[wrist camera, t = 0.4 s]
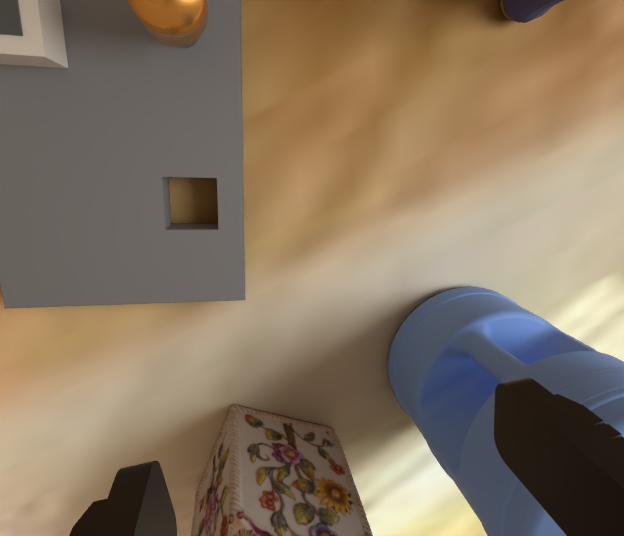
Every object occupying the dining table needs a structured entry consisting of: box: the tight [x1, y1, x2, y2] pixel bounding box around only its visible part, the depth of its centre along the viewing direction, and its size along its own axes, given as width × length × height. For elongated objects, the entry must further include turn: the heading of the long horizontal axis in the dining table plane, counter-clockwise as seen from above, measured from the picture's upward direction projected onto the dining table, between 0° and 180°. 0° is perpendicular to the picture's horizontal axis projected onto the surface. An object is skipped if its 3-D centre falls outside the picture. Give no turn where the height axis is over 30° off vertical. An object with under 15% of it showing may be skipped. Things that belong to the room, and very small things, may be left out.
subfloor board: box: [0, 0, 245, 308], centre depth 30 cm, size 28×18×3 cm, turn 178°
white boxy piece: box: [0, 0, 68, 69], centre depth 24 cm, size 6×5×4 cm
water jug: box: [388, 287, 624, 536], centre depth 29 cm, size 16×16×28 cm
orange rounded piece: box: [127, 0, 208, 48], centre depth 24 cm, size 4×4×8 cm
